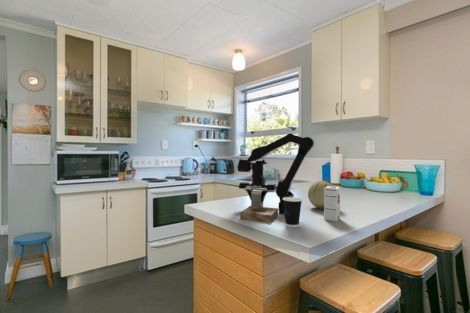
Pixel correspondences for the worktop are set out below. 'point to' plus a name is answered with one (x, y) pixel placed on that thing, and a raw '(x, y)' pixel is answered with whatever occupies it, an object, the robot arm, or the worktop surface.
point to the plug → (256, 198)
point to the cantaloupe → (318, 193)
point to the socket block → (259, 213)
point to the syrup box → (332, 203)
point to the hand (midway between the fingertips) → (257, 202)
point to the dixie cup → (292, 211)
